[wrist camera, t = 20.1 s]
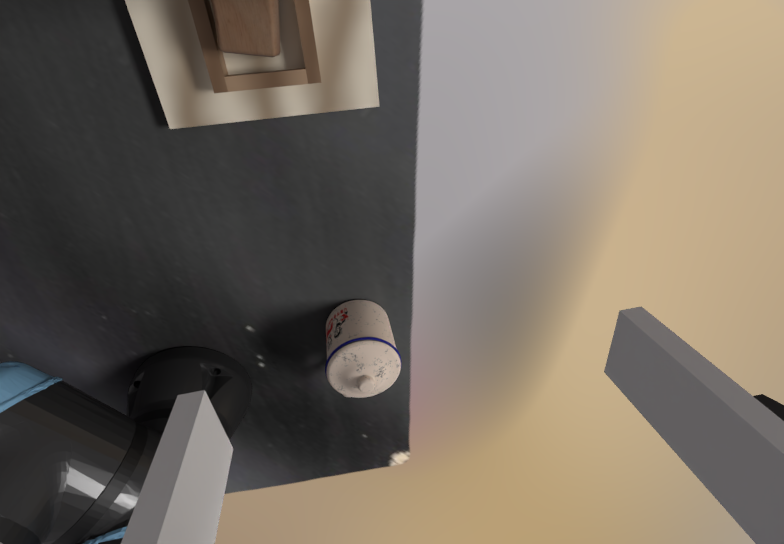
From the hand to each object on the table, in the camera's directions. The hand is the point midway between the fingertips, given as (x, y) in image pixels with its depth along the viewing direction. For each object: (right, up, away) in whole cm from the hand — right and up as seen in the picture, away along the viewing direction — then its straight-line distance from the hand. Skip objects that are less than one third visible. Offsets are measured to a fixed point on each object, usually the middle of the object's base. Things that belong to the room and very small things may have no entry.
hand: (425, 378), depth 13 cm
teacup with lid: (-6, -5, +42) cm, 43 cm away
